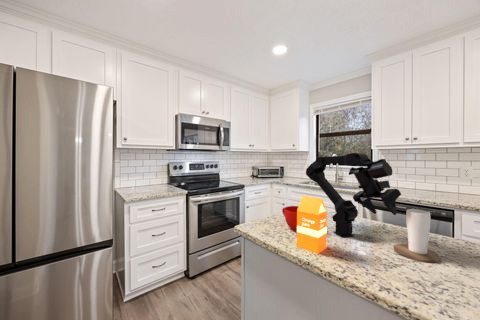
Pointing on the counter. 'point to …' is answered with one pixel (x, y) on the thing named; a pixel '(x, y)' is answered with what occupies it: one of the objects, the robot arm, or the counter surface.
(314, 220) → the orange juice
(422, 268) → the counter surface
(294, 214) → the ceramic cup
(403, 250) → the walnut coaster
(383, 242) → the counter surface
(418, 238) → the white tapered cylinder
